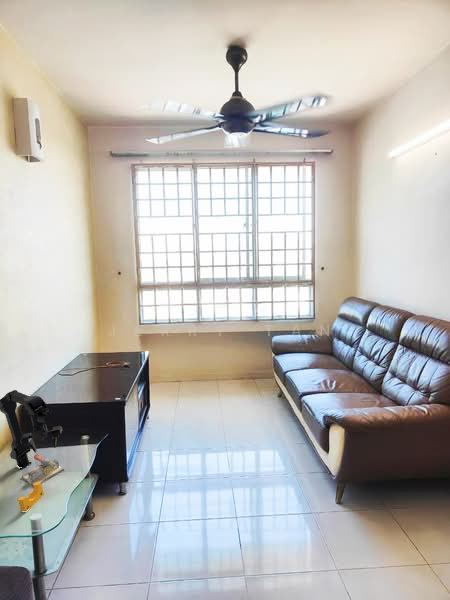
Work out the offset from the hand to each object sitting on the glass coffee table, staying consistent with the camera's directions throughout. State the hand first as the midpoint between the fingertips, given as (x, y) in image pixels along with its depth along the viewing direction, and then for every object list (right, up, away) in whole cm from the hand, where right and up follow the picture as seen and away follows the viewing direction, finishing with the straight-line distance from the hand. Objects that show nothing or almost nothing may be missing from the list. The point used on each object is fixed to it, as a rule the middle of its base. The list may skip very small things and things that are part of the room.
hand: (45, 450), depth 193 cm
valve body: (-1, -13, +1) cm, 13 cm away
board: (-2, -13, +2) cm, 14 cm away
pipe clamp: (+4, -16, -21) cm, 27 cm away
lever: (-4, -8, +4) cm, 10 cm away
